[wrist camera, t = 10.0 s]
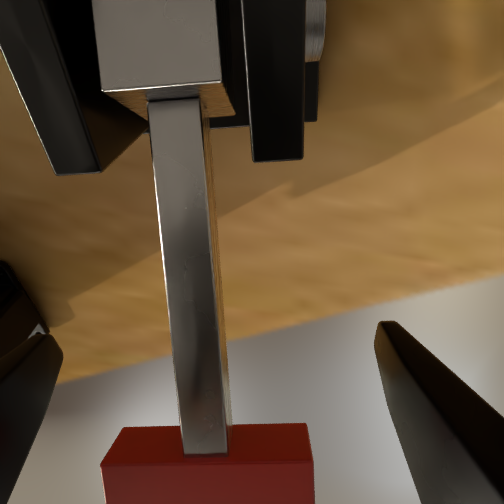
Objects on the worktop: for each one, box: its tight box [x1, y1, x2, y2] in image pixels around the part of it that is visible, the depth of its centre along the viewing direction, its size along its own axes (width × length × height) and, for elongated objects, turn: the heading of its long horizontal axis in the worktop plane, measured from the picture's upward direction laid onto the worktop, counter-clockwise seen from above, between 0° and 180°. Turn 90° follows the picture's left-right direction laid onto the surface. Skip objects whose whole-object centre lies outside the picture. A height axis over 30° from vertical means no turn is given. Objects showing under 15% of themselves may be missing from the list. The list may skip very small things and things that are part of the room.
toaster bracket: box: [0, 0, 327, 176], centre depth 9 cm, size 7×8×9 cm
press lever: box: [90, 0, 315, 504], centre depth 7 cm, size 12×5×2 cm, turn 4°
